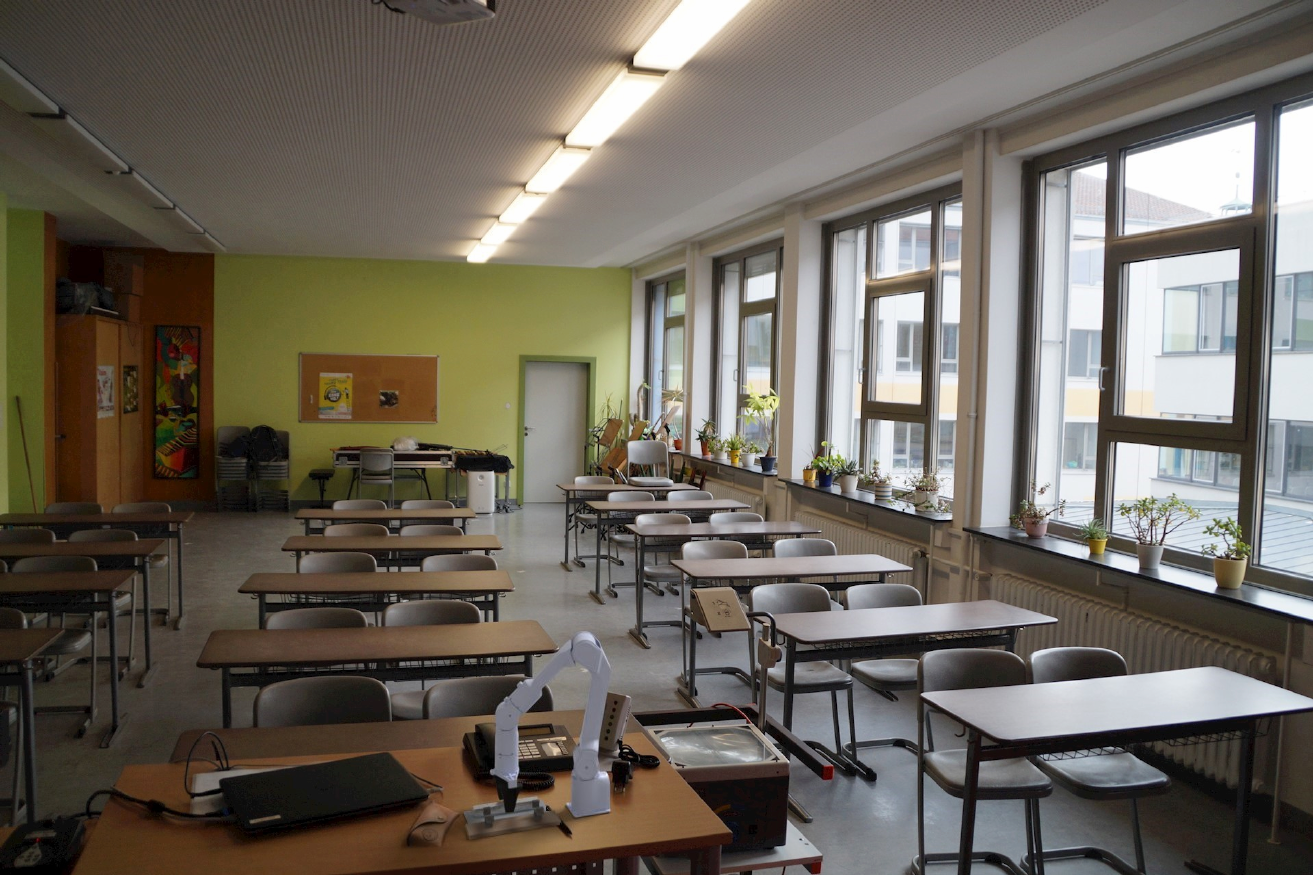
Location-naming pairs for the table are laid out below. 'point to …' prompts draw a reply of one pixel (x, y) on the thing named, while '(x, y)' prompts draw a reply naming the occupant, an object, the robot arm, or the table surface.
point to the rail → (499, 807)
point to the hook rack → (512, 822)
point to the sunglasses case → (431, 826)
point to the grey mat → (471, 819)
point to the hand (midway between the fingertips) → (506, 805)
